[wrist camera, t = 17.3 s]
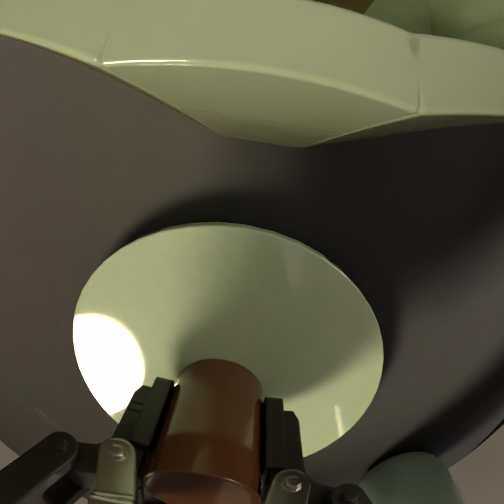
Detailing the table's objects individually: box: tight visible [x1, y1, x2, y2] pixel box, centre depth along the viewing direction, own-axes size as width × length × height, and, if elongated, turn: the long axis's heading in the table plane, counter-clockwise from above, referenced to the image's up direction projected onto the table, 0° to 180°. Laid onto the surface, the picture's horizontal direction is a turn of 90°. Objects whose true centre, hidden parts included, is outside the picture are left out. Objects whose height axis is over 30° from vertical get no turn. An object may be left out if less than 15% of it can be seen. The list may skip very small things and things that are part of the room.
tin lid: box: [73, 222, 384, 504], centre depth 10 cm, size 15×15×7 cm
